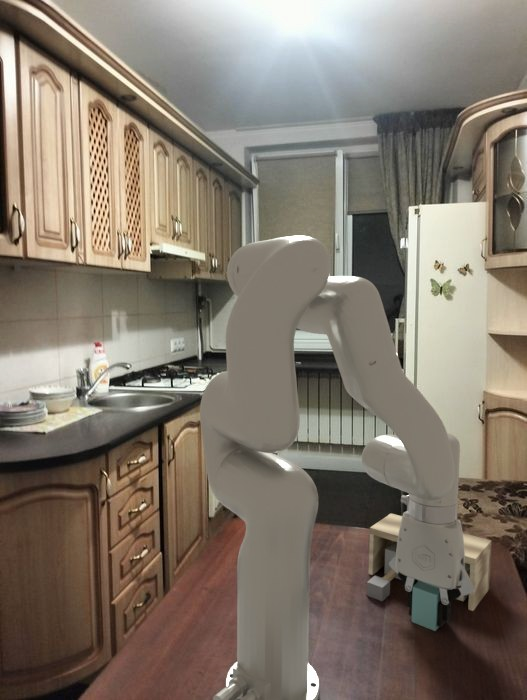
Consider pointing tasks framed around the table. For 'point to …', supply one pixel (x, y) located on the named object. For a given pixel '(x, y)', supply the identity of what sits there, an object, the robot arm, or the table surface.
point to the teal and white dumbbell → (428, 603)
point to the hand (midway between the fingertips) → (428, 616)
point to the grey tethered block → (381, 586)
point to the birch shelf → (473, 547)
